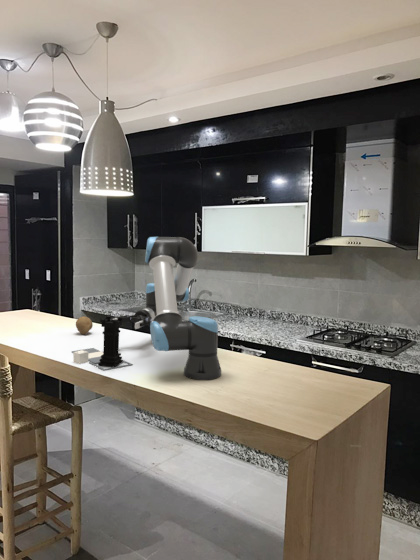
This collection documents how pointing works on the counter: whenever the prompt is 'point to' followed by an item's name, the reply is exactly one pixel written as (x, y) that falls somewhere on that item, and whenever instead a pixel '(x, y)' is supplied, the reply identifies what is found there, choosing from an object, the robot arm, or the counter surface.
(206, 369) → the robot arm
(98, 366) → the grey flat square frame
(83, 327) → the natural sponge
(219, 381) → the counter surface
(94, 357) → the track
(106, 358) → the chess piece
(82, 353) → the die
